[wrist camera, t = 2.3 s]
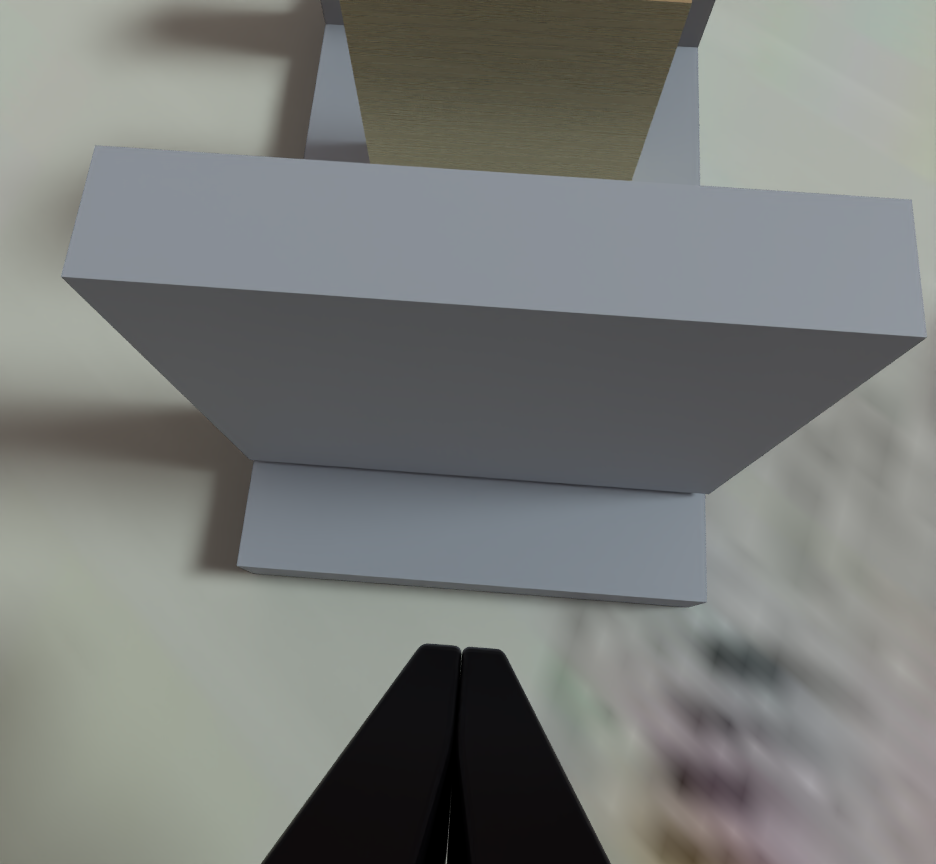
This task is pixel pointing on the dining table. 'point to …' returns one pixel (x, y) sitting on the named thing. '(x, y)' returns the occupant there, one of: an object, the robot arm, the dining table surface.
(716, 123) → the dining table surface
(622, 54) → the brass block
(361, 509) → the plate
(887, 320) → the sliding jaw
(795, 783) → the dining table surface
